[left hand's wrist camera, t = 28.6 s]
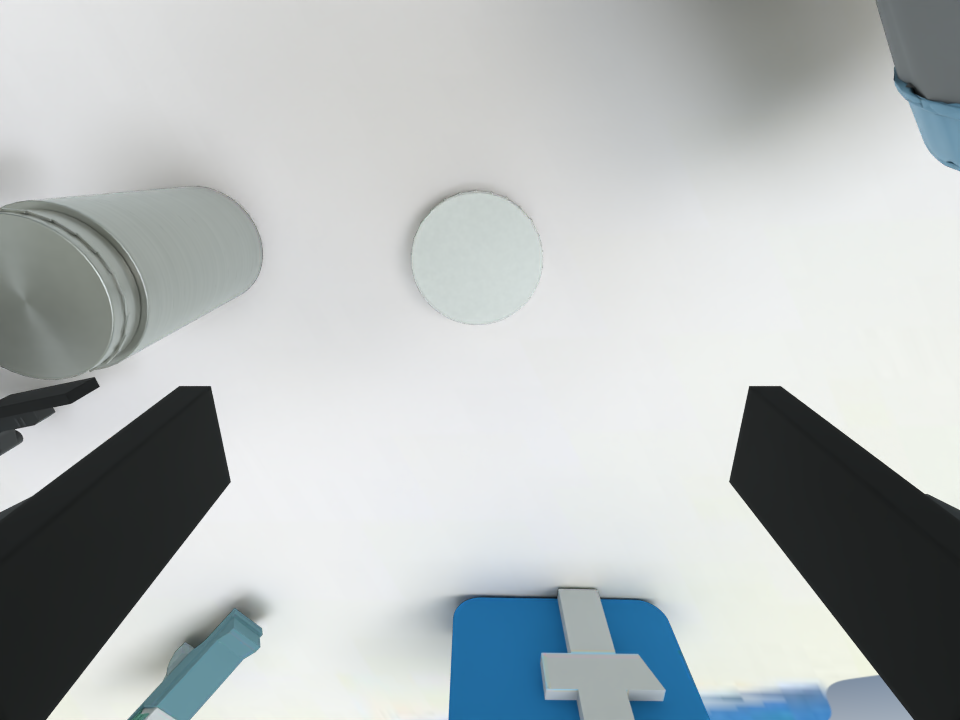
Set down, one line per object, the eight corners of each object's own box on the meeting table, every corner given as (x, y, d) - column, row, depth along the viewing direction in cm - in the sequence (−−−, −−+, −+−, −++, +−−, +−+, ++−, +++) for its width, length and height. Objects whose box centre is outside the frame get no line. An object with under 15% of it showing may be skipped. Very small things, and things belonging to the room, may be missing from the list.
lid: (494, 339, 40) (495, 348, 38) (390, 273, 38) (385, 280, 36) (565, 238, 37) (570, 243, 35) (457, 162, 35) (456, 162, 33)
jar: (240, 176, 36) (69, 186, 21) (277, 290, 39) (151, 371, 24) (128, 198, 36) (-116, 224, 21) (174, 309, 39) (-13, 400, 24)
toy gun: (72, 753, 48) (33, 841, 39) (234, 582, 54) (233, 623, 45) (105, 772, 49) (75, 862, 40) (260, 602, 55) (264, 646, 46)
